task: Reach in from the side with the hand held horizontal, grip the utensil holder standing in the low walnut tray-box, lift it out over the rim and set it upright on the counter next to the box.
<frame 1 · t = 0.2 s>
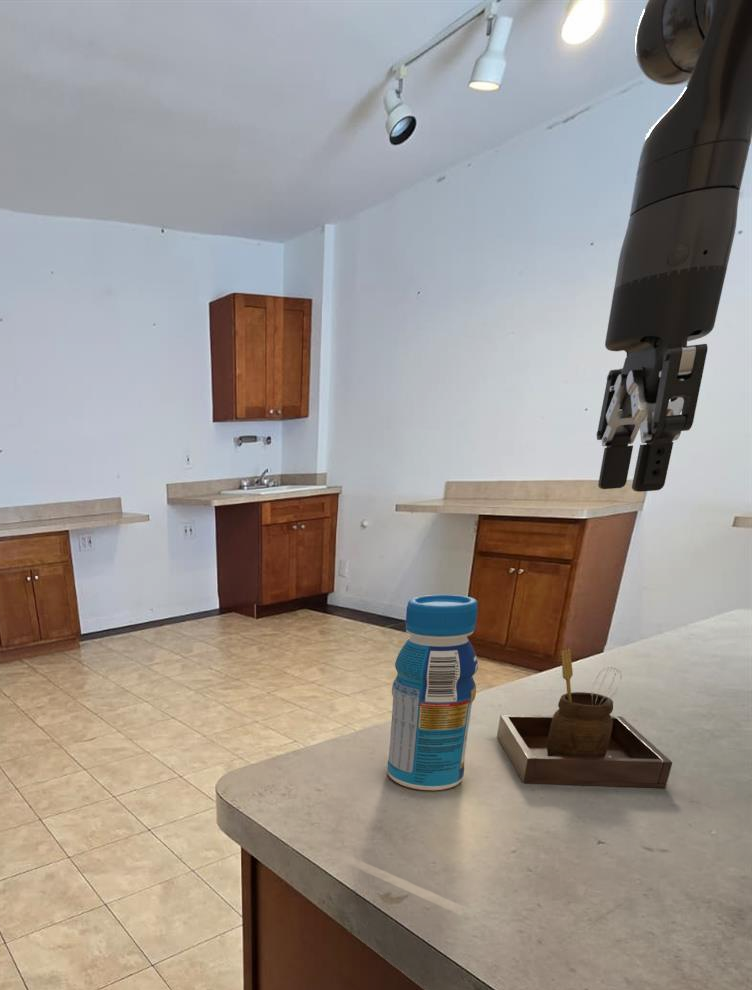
hand: (627, 489, 59), 29 cm above the countertop, tool pointing down, fingers open, 8 cm apart
tray box: (572, 759, 74), on the countertop
utensil holder: (573, 757, 74), resting on tray box
beverage bottle: (423, 778, 73), on the countertop
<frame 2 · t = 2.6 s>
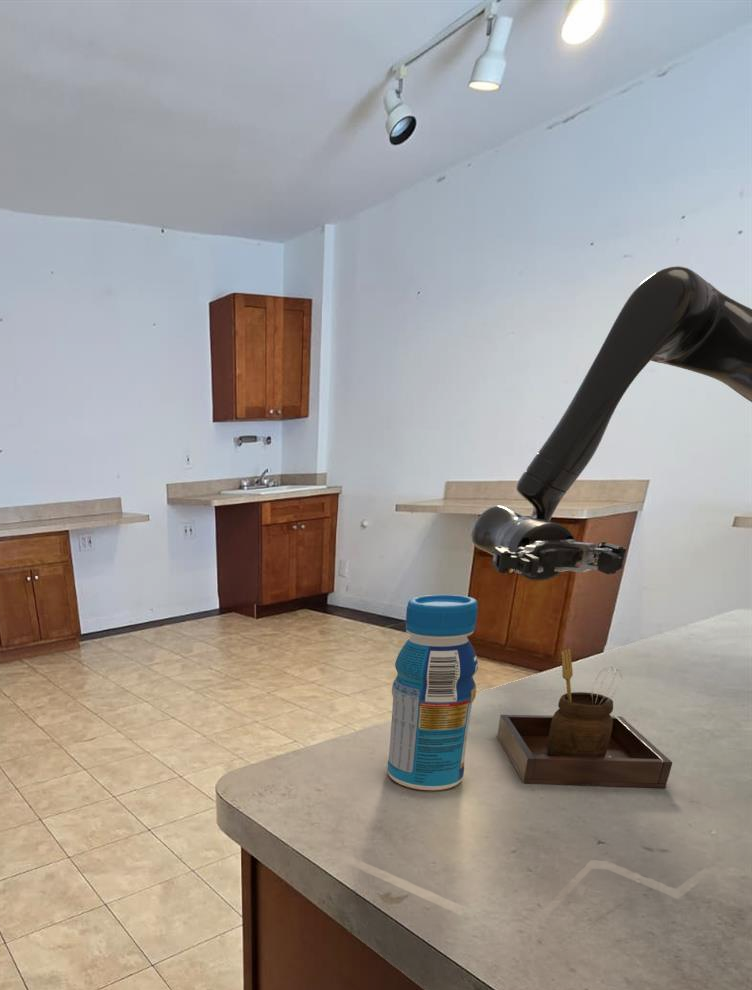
hand: (574, 566, 76), 20 cm above the countertop, tool horizontal, fingers open, 8 cm apart
nothing on the countertop moved.
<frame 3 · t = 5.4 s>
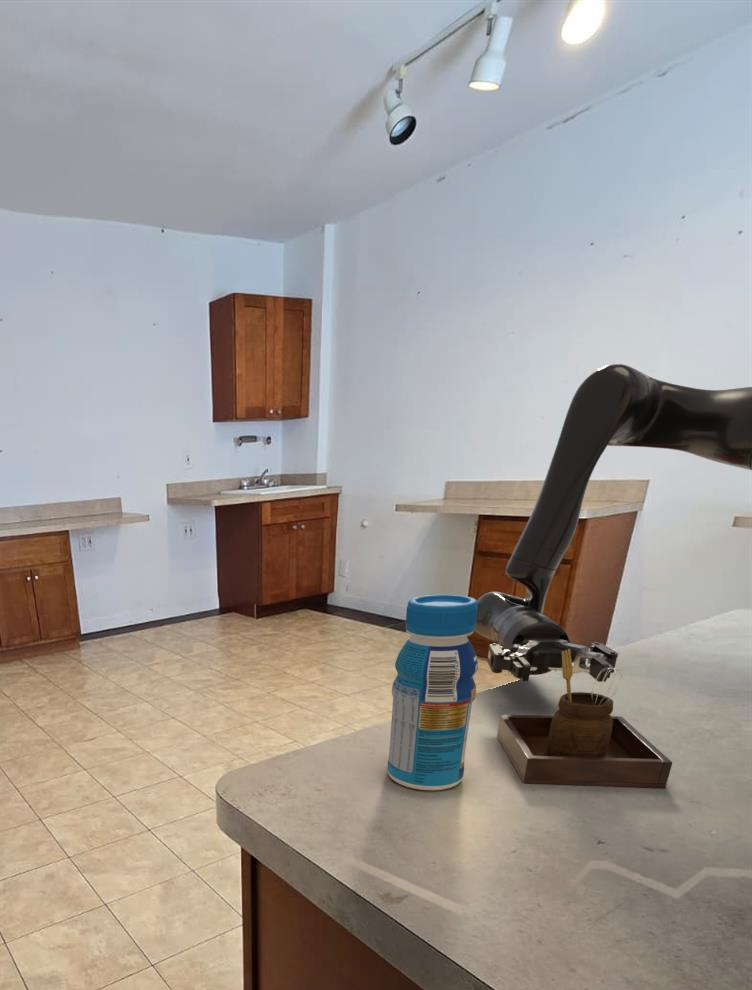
hand: (565, 674, 78), 8 cm above the countertop, tool horizontal, fingers open, 8 cm apart
nothing on the countertop moved.
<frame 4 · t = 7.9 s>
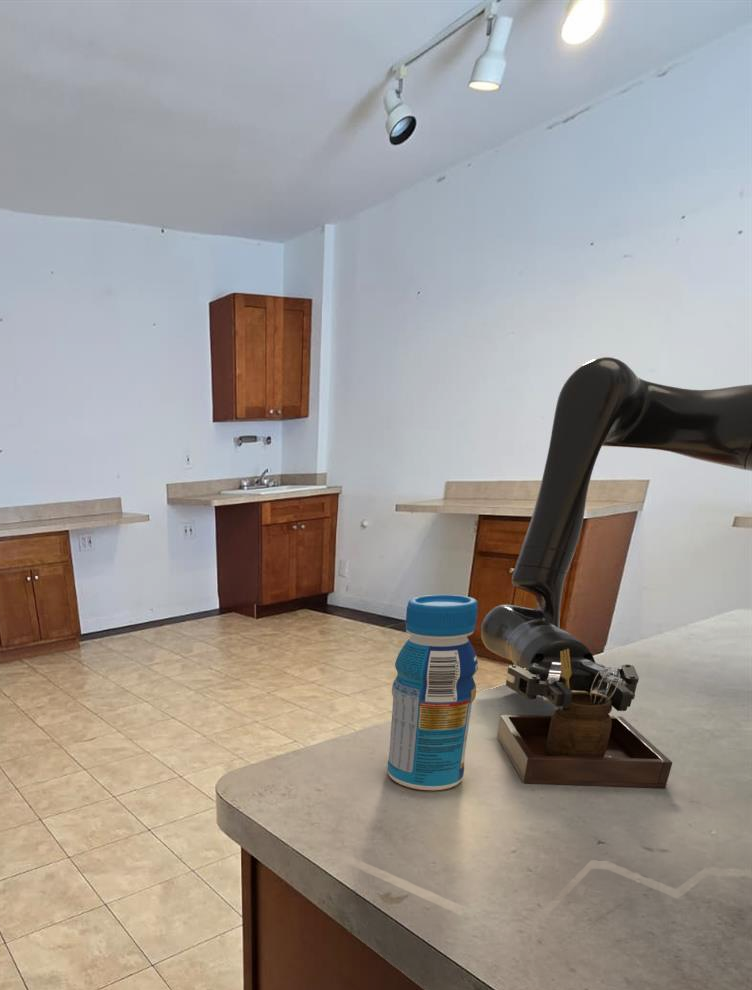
hand: (595, 701, 69), 8 cm above the countertop, tool horizontal, fingers closed on utensil holder, 5 cm apart
utensil holder: (572, 757, 74), resting on tray box, touching gripper
everything else where it was.
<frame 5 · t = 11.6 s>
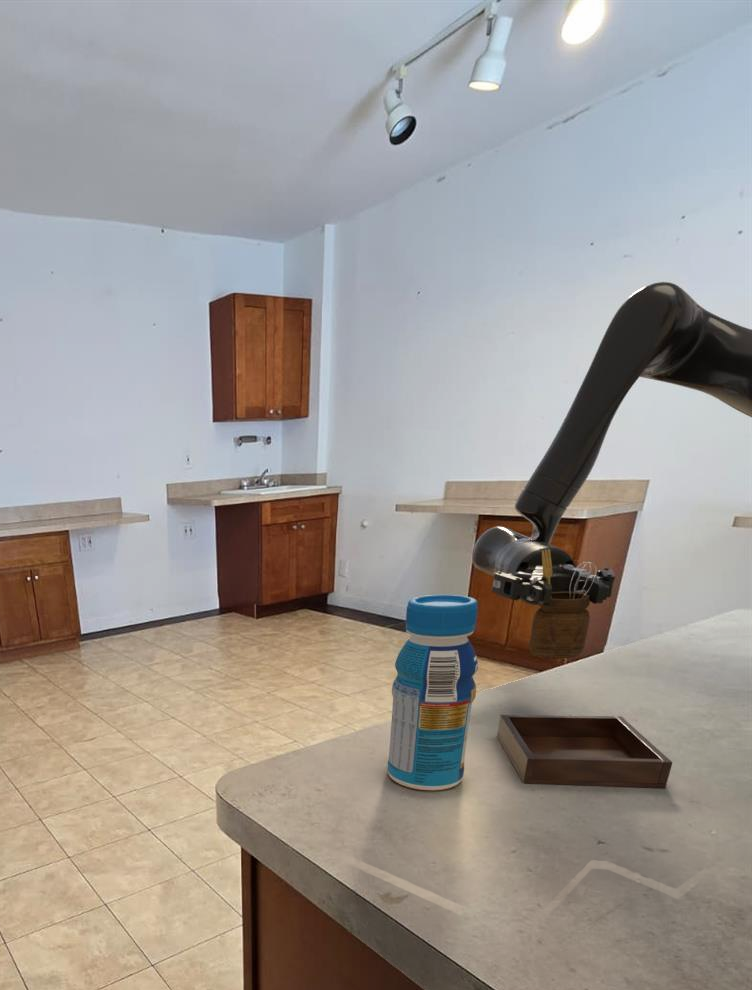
hand: (574, 595, 73), 18 cm above the countertop, tool horizontal, fingers closed on utensil holder, 5 cm apart
utensil holder: (553, 654, 79), point 10 cm above the countertop, touching gripper
everything else where it was.
when the fingers open (8 cm above the countertop, at t = 15.2 s): utensil holder stays where it is, on the countertop.
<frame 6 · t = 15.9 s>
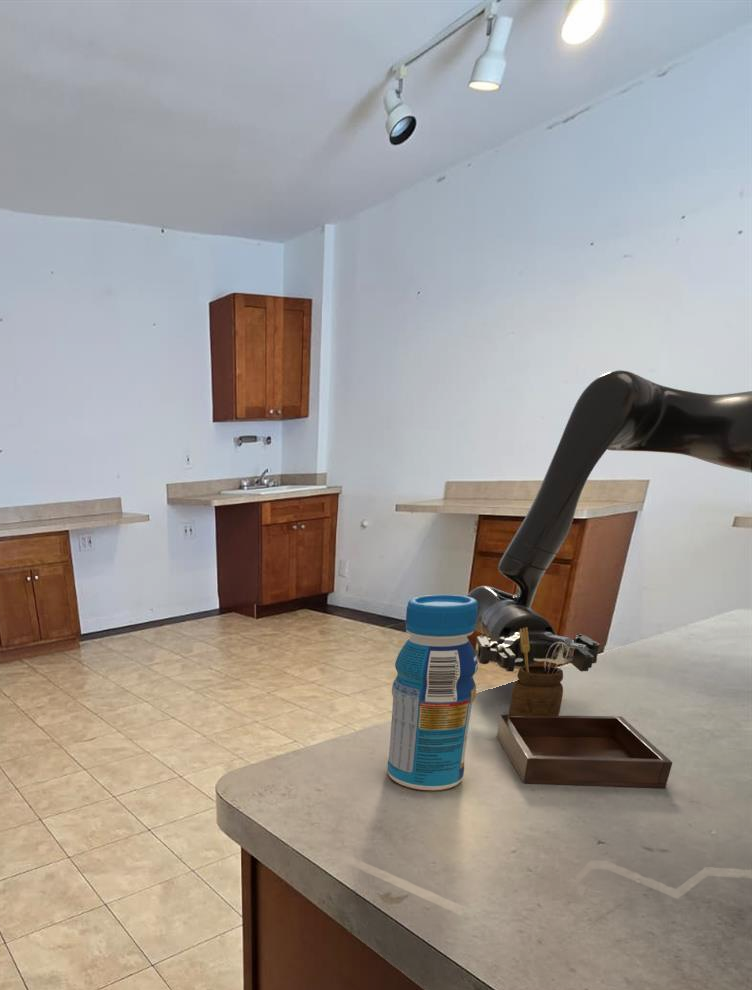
hand: (548, 664, 81), 8 cm above the countertop, tool horizontal, fingers open, 8 cm apart
utensil holder: (531, 721, 86), on the countertop
everything else where it was.
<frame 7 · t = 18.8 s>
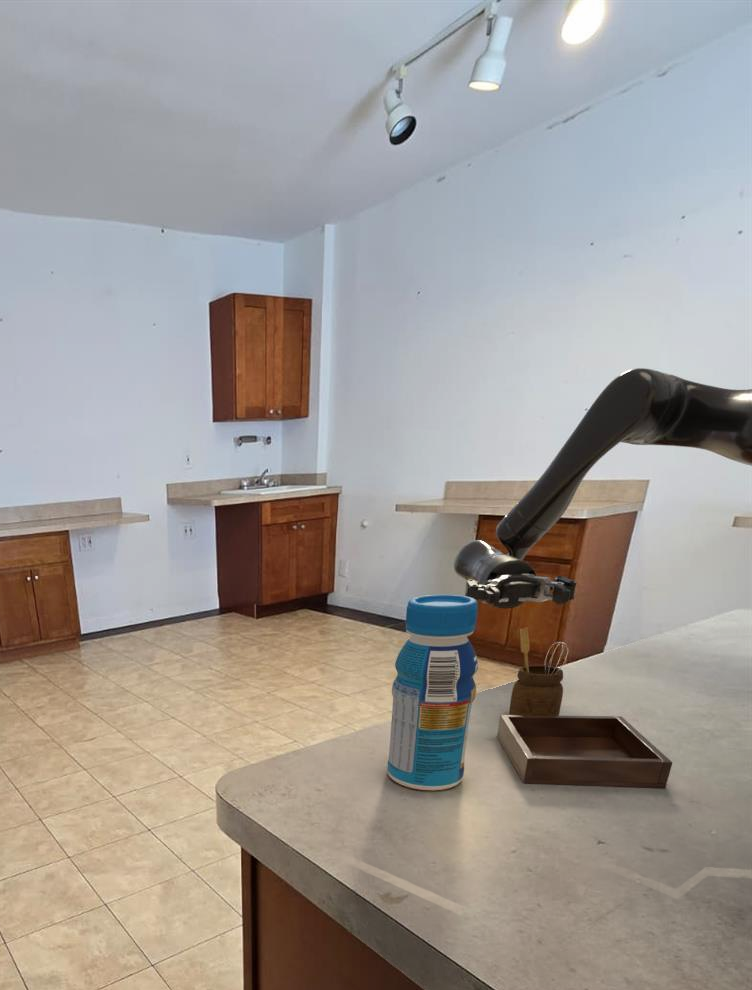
hand: (530, 598, 90), 14 cm above the countertop, tool horizontal, fingers open, 8 cm apart
nothing on the countertop moved.
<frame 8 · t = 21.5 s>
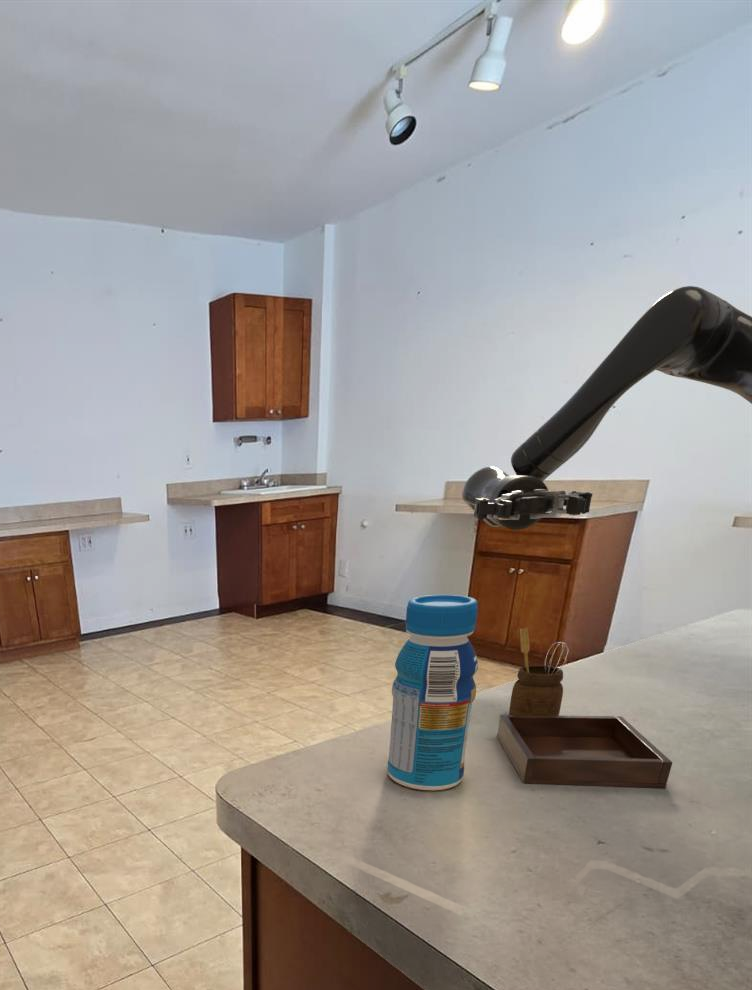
hand: (543, 508, 85), 26 cm above the countertop, tool horizontal, fingers open, 8 cm apart
nothing on the countertop moved.
at the end: utensil holder inside the target area (0.3 cm from its centre), on the countertop; utensil holder tilted 0°; utensil holder touching countertop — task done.
